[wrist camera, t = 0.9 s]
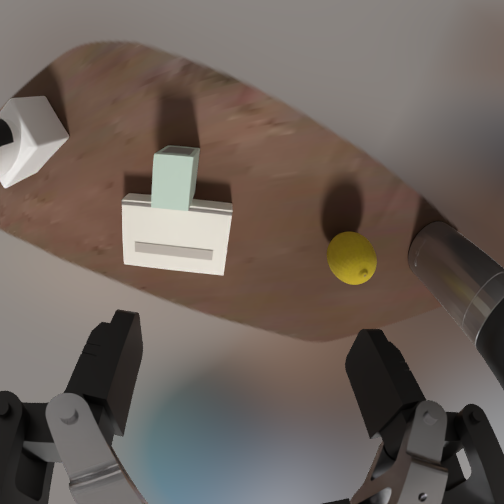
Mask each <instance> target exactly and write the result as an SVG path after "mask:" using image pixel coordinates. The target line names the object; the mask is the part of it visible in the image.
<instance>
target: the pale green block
mask: <svg viewBox="0 0 504 504" xmlns="http://www.w3.org/2000/svg"><path fill="white" fill-rule="evenodd" d="M199 153H200V148H194V147H183V146H171V145H168V146H166V147H164V148H163V149H161V150H160V151H158V152H156V153H155V154H154V162H153V176H152V195H151V208H161V209H171V210H181V211H188V210H189V207H190V204H191V202H192V199H193V197H194V194H195V188H196V178H197V170H198V161H199Z"/></svg>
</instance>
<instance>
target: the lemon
mask: <svg viewBox="0 0 504 504" xmlns="http://www.w3.org/2000/svg"><path fill="white" fill-rule="evenodd" d="M327 261H328V264H329V266H330V269H331V270H332V272H333V273H334V274H335V275H336V277H338V278H339V279H340V280H342V281H343V282H345V283H348V284H352V285H357V284H361V283H364V282H366V281H367V280H368V279H369V278H370V277H371V276H372V275H373V273H374V271H375V269H376V264H377V259H376V254H375V251H374V249H373V247H372V245H371V243H370V242H369V241H368V240H367V239H366V238H365V237H364V236H362V235H360V234H358V233H356V232H351V231H349V232H343V233H340V234H338V235H336V236H335V237H334V238H333V239H332V240H331V242H330V244H329V246H328V249H327Z"/></svg>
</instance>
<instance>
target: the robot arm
mask: <svg viewBox="0 0 504 504" xmlns="http://www.w3.org/2000/svg"><path fill="white" fill-rule="evenodd" d="M408 262H409V266H410V269H411V270H412V272H413V273H414V274H415V275H416V276H417V277H418V278H419V279H420V280H421V281H422V283H423V284H424V285H425V286H426V287H427V288H428V289H429V291H430V292H431V293H432V294H433V295H434V296H435V298H436V299H437V300H438V301H439V302H440V303H441V305H442V306H443V307H444V308H445V309H446V310H447V312H448V313H449V314H450V315H451V317H452V318H453V319H454V320H455V321H456V323H457V324H458V325H459V327H460V328H461V329H462V330H463V332H464V333H465V334H466V335H467V337H468V338H469V339H470V340H471V342H472V343H473V344H474V346H475V347H476V349H477V350H478V351H479V353H480V354H481V355H482V357H483V358H484V360H485V361H486V363H487V364H488V366H489V367H490V369H491V370H492V372H493V373H494V375H495V376H496V378H497V380H498V381H499V383H500V385H501V386H502V388H503V390H504V268H503V267H501V266H500V265H499V264H498V263H497V262H496V261H494V260H493V259H492V258H491V257H490V256H488V255H487V254H486V253H485V252H484V251H482V250H481V249H480V248H478V247H477V246H476V245H475V244H473V243H472V242H471V241H469V240H468V239H467V238H465V237H464V236H463V235H462V234H460V233H459V232H458V231H456V230H455V229H453V228H452V227H450V226H449V225H448V224H446V223H445V222H441V221H439V222H433V223H430V224H429V225H427V226H425V227H424V228H423V229H422V230H421V231H420V232H419V233H418V234H417V236H416V237H415V239H414V240H413V242H412V245H411V247H410V250H409V256H408ZM142 353H143V342H142V334H141V326H140V317H139V313H137V312H131V311H124V310H117V311H116V312H115V314H114V316H113V318H112V321H111V323H106V322H101V323H100V324H99V325H98V326H97V327H96V328H95V329H94V330H92V332H91V334H90V336H89V338H88V340H87V343H86V345H85V346H84V349H83V351H82V354H81V355H80V357H79V360H78V362H77V364H76V366H75V369H74V371H73V373H72V376H71V378H70V381H69V383H68V385H67V388H66V390H65V391H64V393H62V394H59V395H57V396H55V397H54V398H52V399H51V400H50V402H48V403H22V402H21V401H20V400H19V398H18V397H17V396H16V395H15V394H14V393H12V392H9V391H0V504H48V499H49V491H50V485H51V479H52V474H53V468H54V463H55V462H62V463H63V465H64V467H65V470H66V472H67V474H68V476H69V479H70V483H69V489H70V492H71V494H72V496H73V498H74V500H75V502H76V504H148V502H147V501H146V500H145V498H144V497H143V496H142V495H141V493H140V492H139V491H138V489H137V487H136V486H135V484H134V483H133V481H132V480H131V478H130V477H129V475H128V473H127V472H126V470H125V469H124V467H123V465H122V464H121V462H120V460H119V458H118V457H117V455H116V453H115V451H114V450H113V448H112V446H111V445H112V441H113V436H114V434H115V435H119V436H123V435H124V431H125V426H126V422H127V417H128V413H129V408H130V404H131V399H132V395H133V390H134V387H135V383H136V379H137V375H138V371H139V367H140V364H141V360H142ZM345 368H346V372H347V375H348V378H349V380H350V383H351V386H352V389H353V391H354V394H355V397H356V400H357V402H358V405H359V408H360V411H361V414H362V417H363V419H364V422H365V425H366V428H367V431H368V434H369V437H370V439H373V438H378V437H382V440H383V441H382V442H381V444H380V445H379V447H378V450H377V452H376V455H375V457H374V460H373V462H372V465H371V467H370V470H369V472H368V474H367V477H366V479H365V481H364V483H363V485H362V486H361V487H360V489H358V491H357V492H356V493H355V494H354V495H353V497H352V499H351V500H350V501H349V499H343V500H339V501H334V502H328V503H323V504H504V454H503V452H502V449H501V447H500V445H499V442H498V440H497V438H496V436H495V434H494V431H493V429H492V427H491V425H490V423H489V421H488V419H487V417H486V415H485V413H484V411H483V410H482V409H481V408H480V407H479V406H477V405H474V404H468V405H466V406H465V407H464V408H463V409H462V410H461V411H460V412H459V413H456V412H445V410H444V409H443V408H442V406H441V405H439V404H438V403H437V402H434V401H430V400H426V399H425V397H424V395H423V393H422V391H421V389H420V387H419V385H418V383H417V381H416V380H415V378H414V376H413V374H412V372H411V371H409V367H408V365H407V363H405V359H404V358H403V356H402V354H401V352H400V350H398V348H396V347H395V346H394V345H393V344H392V343H391V342H388V340H387V338H386V336H385V335H384V333H383V331H382V330H380V329H362V330H361V331H360V332H359V333H358V335H357V337H356V340H355V341H354V343H353V345H352V347H351V349H350V351H349V353H348V355H347V357H346V363H345ZM462 448H464V451H465V453H466V456H467V458H468V461H469V464H470V466H471V470H472V473H471V476H470V477H469V479H468V480H466V479H465V478H464V475H463V472H462V470H461V467H460V464H459V461H458V458H457V456H456V453H457V452H459V451H460V450H461V449H462Z"/></svg>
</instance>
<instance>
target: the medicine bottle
mask: <svg viewBox="0 0 504 504" xmlns="http://www.w3.org/2000/svg"><path fill="white" fill-rule="evenodd" d="M68 138H69V135H68V133H67V132H66V130H65V128H64V127H63V125H62V123H61V122H60V120H59V118H58V117H57V115H56V113H55V112H54V110H53V108H52V107H51V105H50V103H49V101H48V100H47V98H46V97H45V96H33V97H20V98H11V99H9V101H8V102H7V103H6V105H5V106H4V107H3V109H2V110H1V112H0V182H1V183H2V185H3V187H4V188H8V187H9V186H11V185H13V184H15V183H17V182H19V181H21V180H23V179H25V178H27V177H29V176H31V175H33V174H35V173H37V172H38V171H39V170H40V169H41V167H42V166H43V165H44V164H45V163H46V162H47V161H48V160H49V158H50V157H51V156H52V155H53V154H54V153H55V152H56V151H57V150H58V149H59V148H60V147H61V146H62V145H63V144H64V143H65V142H66V141H67V140H68Z"/></svg>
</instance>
